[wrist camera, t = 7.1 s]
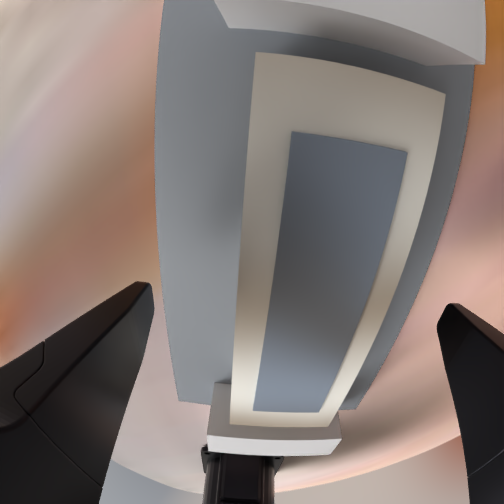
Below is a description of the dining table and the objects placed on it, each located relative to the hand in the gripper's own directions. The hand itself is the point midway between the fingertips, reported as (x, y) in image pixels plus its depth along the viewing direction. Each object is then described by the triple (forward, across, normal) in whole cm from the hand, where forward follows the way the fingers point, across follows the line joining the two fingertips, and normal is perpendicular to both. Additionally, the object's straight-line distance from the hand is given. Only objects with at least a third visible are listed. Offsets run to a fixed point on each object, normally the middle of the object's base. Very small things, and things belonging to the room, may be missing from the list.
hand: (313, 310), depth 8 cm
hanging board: (+4, 0, 0) cm, 4 cm away
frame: (+2, 0, 0) cm, 3 cm away
